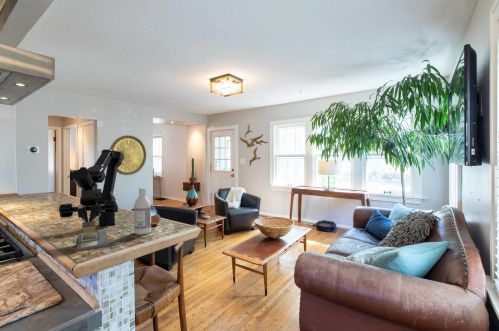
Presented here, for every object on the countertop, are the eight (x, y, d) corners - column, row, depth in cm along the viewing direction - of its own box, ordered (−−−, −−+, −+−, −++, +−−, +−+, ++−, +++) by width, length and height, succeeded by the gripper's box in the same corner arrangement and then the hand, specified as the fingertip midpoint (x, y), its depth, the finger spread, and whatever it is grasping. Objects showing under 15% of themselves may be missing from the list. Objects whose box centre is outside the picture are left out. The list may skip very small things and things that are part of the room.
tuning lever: (82, 238, 95) (81, 222, 91) (96, 236, 98) (95, 221, 93) (82, 241, 94) (81, 226, 90) (96, 239, 97) (95, 224, 92)
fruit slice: (149, 228, 116) (149, 218, 116) (139, 226, 119) (139, 216, 119) (163, 224, 123) (163, 214, 123) (154, 223, 126) (153, 213, 126)
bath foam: (151, 233, 108) (151, 188, 107) (134, 235, 105) (134, 189, 104) (150, 229, 114) (150, 186, 114) (134, 231, 111) (133, 187, 111)
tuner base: (80, 236, 104) (80, 227, 104) (106, 232, 109) (106, 224, 109) (77, 251, 87) (77, 240, 87) (108, 246, 92) (107, 236, 92)
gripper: (59, 183, 93) (55, 218, 84) (115, 181, 102) (117, 212, 93) (62, 200, 100) (58, 235, 91) (114, 197, 109) (116, 227, 100)
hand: (88, 227), depth 94 cm, fingers closed, pressing on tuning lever
